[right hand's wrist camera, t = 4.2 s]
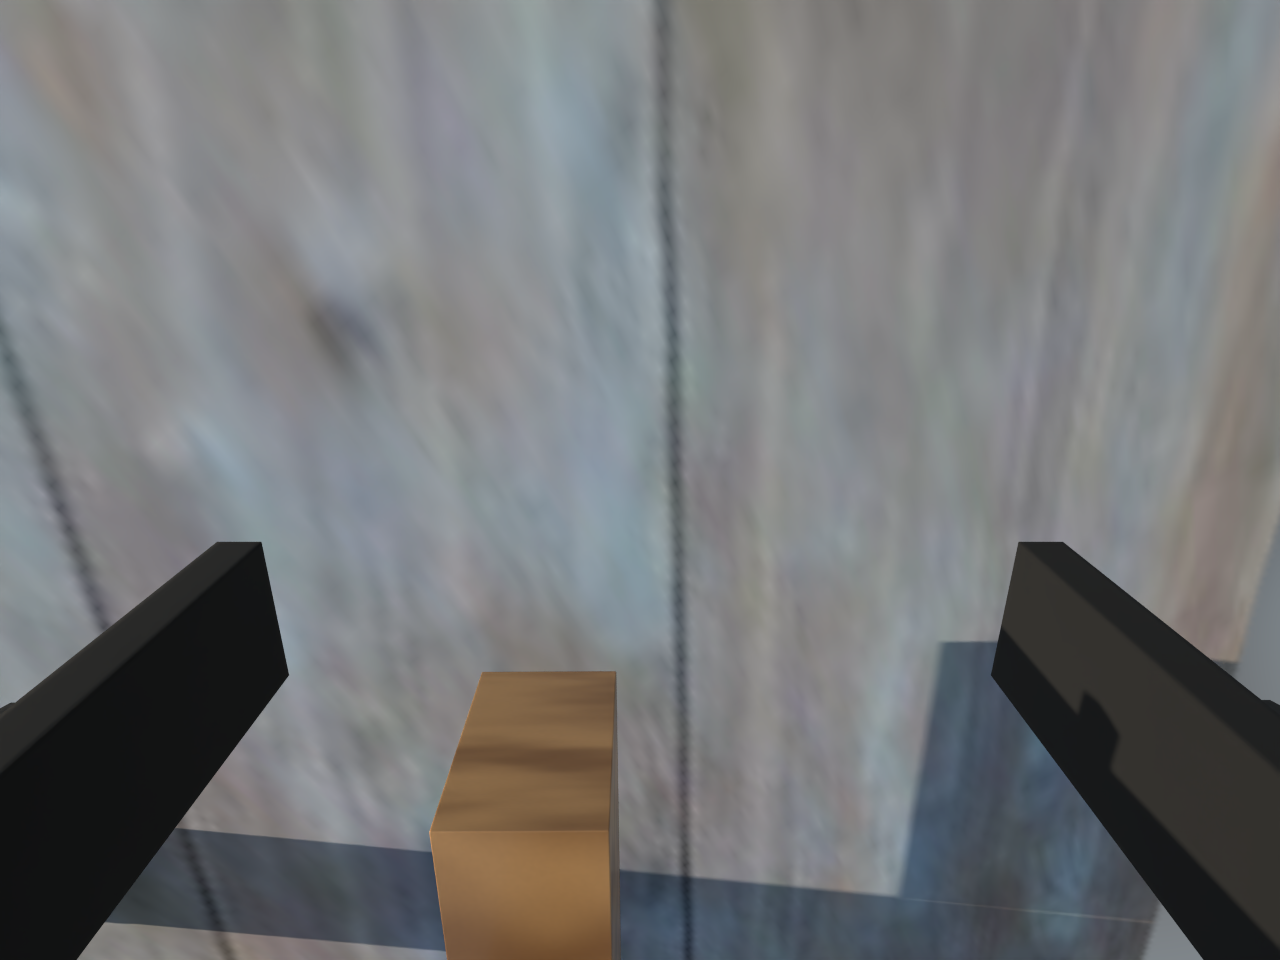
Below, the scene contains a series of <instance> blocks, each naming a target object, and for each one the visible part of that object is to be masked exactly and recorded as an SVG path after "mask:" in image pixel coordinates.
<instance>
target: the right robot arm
mask: <svg viewBox="0 0 1280 960" xmlns="http://www.w3.org/2000/svg"><path fill="white" fill-rule="evenodd" d="M288 676H289V673H288V668H287V663H286V659H285V654H284V649H283V644H282V639H281V634H280V630H279V625H278V620H277V615H276V610H275V605H274V601H273V596H272V591H271V586H270V581H269V576H268V572H267V567H266V562H265V557H264V552H263V547H262V543H261V542H216V543H215V544H214V545H213V546H211V547H210V548H209V549H208V550H206V551H205V552H204V553H203V554H201V555H200V556H199V557H198V558H196V559H195V560H194V561H193V562H191V563H190V564H189V565H188V566H186V567H185V568H184V569H183V570H181V571H180V572H179V573H178V574H176V575H175V576H174V577H173V578H171V579H170V580H169V581H168V582H166V583H165V584H164V585H162V586H161V587H160V588H159V589H157V590H156V591H155V592H154V593H152V594H151V595H150V596H149V597H147V598H146V599H145V600H144V601H142V602H141V603H140V604H139V605H137V606H136V607H135V608H134V609H132V610H131V611H130V612H129V613H127V614H126V615H125V616H124V617H122V618H121V619H120V620H119V621H117V622H116V623H115V624H114V625H112V626H111V627H110V628H108V629H107V630H106V631H105V632H103V633H102V634H101V635H100V636H98V637H97V638H96V639H95V640H93V641H92V642H91V643H90V644H88V645H87V646H86V647H85V648H83V649H82V650H81V651H80V652H78V653H77V654H76V655H75V656H73V657H72V658H71V659H70V660H68V661H67V662H66V663H65V664H63V665H62V666H61V667H60V668H58V669H57V670H56V671H54V672H53V673H52V674H51V675H49V676H48V677H47V678H46V679H44V680H43V681H42V682H41V683H39V684H38V685H37V686H36V687H34V688H33V689H32V690H31V691H29V692H28V693H27V694H26V695H24V696H23V697H22V698H21V699H19V700H18V701H17V702H16V703H9V704H8V705H6V706H4V707H2V708H0V960H77V958H78V957H79V956H80V954H81V953H82V952H83V950H84V949H85V948H86V946H87V945H88V944H89V942H90V941H91V940H92V938H93V937H94V936H95V934H96V933H97V932H98V930H99V929H100V928H101V926H102V925H103V924H104V922H105V921H106V920H107V918H108V917H109V916H110V914H111V913H112V911H113V910H114V909H115V907H116V906H117V905H118V903H119V902H120V901H121V899H122V898H123V897H124V895H125V894H126V893H127V891H128V890H129V889H130V887H131V886H132V885H133V883H134V882H135V881H136V879H137V878H138V877H139V875H140V874H141V873H142V871H143V870H144V869H145V867H146V866H147V865H148V863H149V862H150V861H151V859H152V858H153V857H154V855H155V854H156V853H157V851H158V850H159V849H160V847H161V846H162V845H163V843H164V842H165V841H166V839H167V838H168V837H169V835H170V834H171V833H172V831H173V830H174V828H175V827H176V826H177V824H178V823H179V822H180V820H181V819H182V818H183V816H184V815H185V814H186V812H187V811H188V810H189V808H190V807H191V806H192V804H193V803H194V802H195V800H196V799H197V798H198V796H199V795H200V794H201V792H202V791H203V790H204V788H205V787H206V786H207V784H208V783H209V782H210V780H211V779H212V778H213V776H214V775H215V774H216V772H217V771H218V770H219V768H220V767H221V766H222V764H223V763H224V762H225V760H226V759H227V758H228V756H229V755H230V754H231V752H232V751H233V750H234V748H235V747H236V745H237V744H238V743H239V741H240V740H241V739H242V737H243V736H244V735H245V733H246V732H247V731H248V729H249V728H250V727H251V725H252V724H253V723H254V721H255V720H256V719H257V717H258V716H259V715H260V713H261V712H262V711H263V709H264V708H265V707H266V705H267V704H268V703H269V701H270V700H271V699H272V697H273V696H274V695H275V693H276V692H277V691H278V689H279V688H280V687H281V685H282V684H283V683H284V681H285V680H286V679H287V677H288ZM991 676H992V677H993V679H994V680H995V681H996V683H997V684H998V685H999V687H1000V688H1001V689H1002V691H1003V692H1004V693H1005V695H1006V696H1007V697H1008V699H1009V700H1010V701H1011V703H1012V704H1013V705H1014V707H1015V708H1016V709H1017V711H1018V712H1019V713H1020V715H1021V716H1022V717H1023V719H1024V720H1025V721H1026V723H1027V724H1028V725H1029V727H1030V728H1031V729H1032V731H1033V732H1034V733H1035V735H1036V736H1037V737H1038V739H1039V740H1040V741H1041V743H1042V744H1043V745H1044V747H1045V748H1046V750H1047V751H1048V752H1049V754H1050V755H1051V756H1052V758H1053V759H1054V760H1055V762H1056V763H1057V764H1058V766H1059V767H1060V768H1061V770H1062V771H1063V772H1064V774H1065V775H1066V776H1067V778H1068V779H1069V780H1070V782H1071V783H1072V784H1073V786H1074V787H1075V788H1076V790H1077V791H1078V792H1079V794H1080V795H1081V796H1082V798H1083V799H1084V800H1085V802H1086V803H1087V804H1088V806H1089V807H1090V808H1091V810H1092V811H1093V812H1094V814H1095V815H1096V816H1097V818H1098V819H1099V820H1100V822H1101V823H1102V824H1103V826H1104V827H1105V828H1106V830H1107V831H1108V833H1109V834H1110V835H1111V837H1112V838H1113V839H1114V841H1115V842H1116V843H1117V845H1118V846H1119V847H1120V849H1121V850H1122V851H1123V853H1124V854H1125V855H1126V857H1127V858H1128V859H1129V861H1130V862H1131V863H1132V865H1133V866H1134V867H1135V869H1136V870H1137V871H1138V873H1139V874H1140V875H1141V877H1142V878H1143V879H1144V881H1145V882H1146V883H1147V885H1148V886H1149V887H1150V889H1151V890H1152V891H1153V893H1154V894H1155V895H1156V897H1157V898H1158V899H1159V901H1160V902H1161V903H1162V905H1163V906H1164V907H1165V909H1166V910H1167V912H1168V913H1169V914H1170V916H1171V917H1172V918H1173V920H1174V921H1175V922H1176V924H1177V925H1178V926H1179V927H1180V929H1181V930H1182V932H1183V933H1184V934H1185V935H1186V937H1187V938H1188V940H1189V941H1190V942H1191V944H1192V945H1193V946H1194V948H1195V949H1196V950H1197V952H1198V953H1199V954H1200V956H1201V957H1202V958H1203V960H1280V705H1278V704H1276V703H1274V702H1273V701H1271V700H1261V699H1259V698H1258V697H1257V696H1256V695H1254V694H1253V693H1252V692H1251V691H1249V690H1248V689H1247V688H1246V687H1244V686H1243V685H1242V684H1241V683H1239V682H1238V681H1237V680H1236V679H1234V678H1233V677H1232V676H1231V675H1229V674H1228V673H1227V672H1226V671H1224V670H1223V669H1222V668H1220V667H1219V666H1218V665H1217V664H1215V663H1214V662H1213V661H1212V660H1210V659H1209V658H1208V657H1207V656H1205V655H1204V654H1203V653H1202V652H1200V651H1199V650H1198V649H1197V648H1195V647H1194V646H1193V645H1192V644H1190V643H1189V642H1188V641H1187V640H1185V639H1184V638H1183V637H1182V636H1180V635H1179V634H1178V633H1177V632H1175V631H1174V630H1173V629H1172V628H1170V627H1169V626H1168V625H1166V624H1165V623H1164V622H1163V621H1161V620H1160V619H1159V618H1158V617H1156V616H1155V615H1154V614H1153V613H1151V612H1150V611H1149V610H1148V609H1146V608H1145V607H1144V606H1143V605H1141V604H1140V603H1139V602H1138V601H1136V600H1135V599H1134V598H1133V597H1131V596H1130V595H1129V594H1128V593H1126V592H1125V591H1124V590H1123V589H1121V588H1120V587H1119V586H1118V585H1116V584H1115V583H1114V582H1112V581H1111V580H1110V579H1109V578H1107V577H1106V576H1105V575H1104V574H1102V573H1101V572H1100V571H1099V570H1097V569H1096V568H1095V567H1094V566H1092V565H1091V564H1090V563H1089V562H1087V561H1086V560H1085V559H1084V558H1082V557H1081V556H1080V555H1079V554H1077V553H1076V552H1075V551H1074V550H1072V549H1071V548H1070V547H1069V546H1067V545H1066V544H1065V543H1064V542H1019V543H1018V547H1017V552H1016V557H1015V562H1014V567H1013V572H1012V576H1011V581H1010V586H1009V591H1008V596H1007V601H1006V605H1005V610H1004V615H1003V620H1002V625H1001V630H1000V634H999V639H998V644H997V649H996V654H995V659H994V663H993V668H992V673H991Z"/></svg>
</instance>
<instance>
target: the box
mask: <svg viewBox="0 0 1280 960" xmlns="http://www.w3.org/2000/svg"><path fill="white" fill-rule="evenodd" d="M429 833H430V840H431V847H432V854H433V862H434V869H435V876H436V883H437V890H438V897H439V905H440V912H441V919H442V926H443V933H444V940H445V948H446V955H447V960H621V929H620V869H619V809H618V749H617V689H616V672H615V671H592V672H482V674H481V677H480V680H479V683H478V686H477V689H476V692H475V695H474V698H473V701H472V704H471V707H470V711H469V714H468V717H467V720H466V723H465V726H464V729H463V732H462V735H461V738H460V741H459V744H458V747H457V750H456V753H455V756H454V759H453V762H452V765H451V768H450V771H449V774H448V777H447V780H446V783H445V786H444V789H443V792H442V795H441V799H440V802H439V805H438V808H437V811H436V814H435V817H434V820H433V823H432V826H431V829H430V832H429Z"/></svg>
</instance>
